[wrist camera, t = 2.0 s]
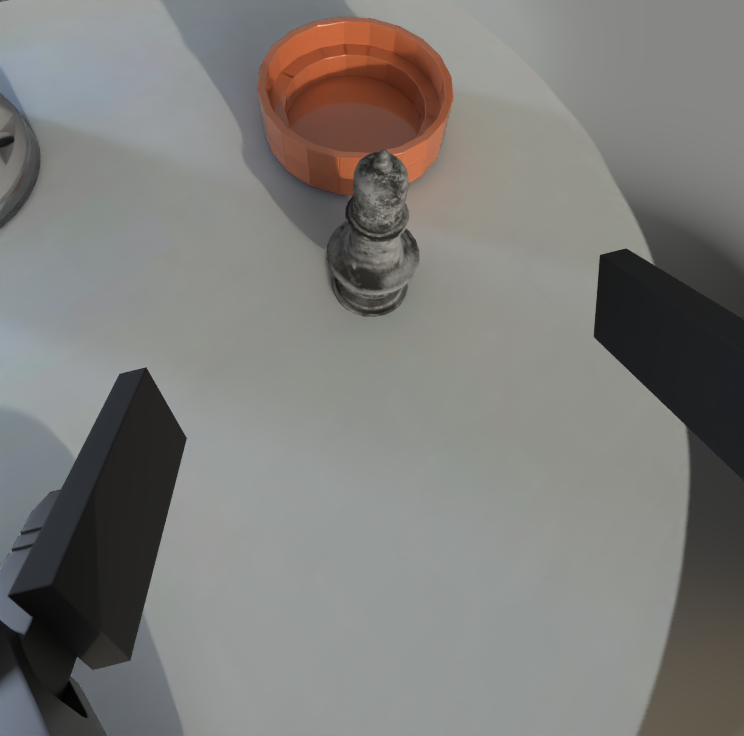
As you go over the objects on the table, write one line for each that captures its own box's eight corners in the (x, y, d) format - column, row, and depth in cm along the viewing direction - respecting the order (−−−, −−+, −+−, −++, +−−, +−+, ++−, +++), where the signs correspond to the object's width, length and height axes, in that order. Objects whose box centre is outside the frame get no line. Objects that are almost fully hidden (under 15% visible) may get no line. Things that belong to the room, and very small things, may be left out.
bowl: (228, 139, 38) (215, 91, 34) (338, 44, 42) (338, -8, 38) (374, 232, 36) (378, 192, 32) (474, 121, 40) (488, 74, 36)
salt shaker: (392, 237, 35) (415, 91, 24) (425, 304, 34) (467, 180, 22) (316, 261, 34) (303, 119, 23) (345, 332, 33) (347, 215, 21)
